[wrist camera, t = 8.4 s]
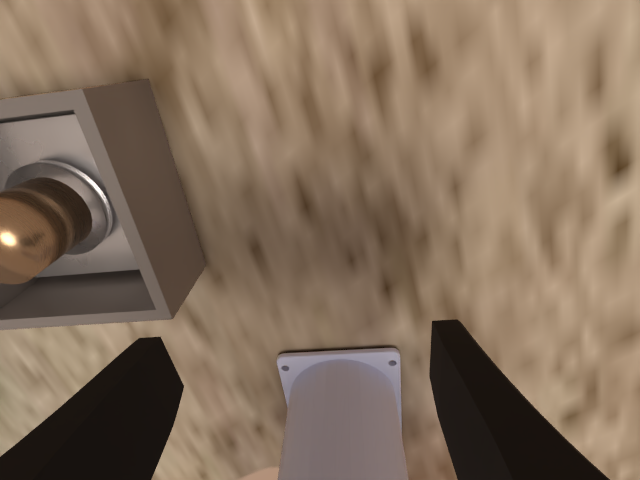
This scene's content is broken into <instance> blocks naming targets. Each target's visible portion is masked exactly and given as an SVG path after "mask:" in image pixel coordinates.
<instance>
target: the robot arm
mask: <svg viewBox="0 0 640 480" xmlns="http://www.w3.org/2000/svg"><path fill="white" fill-rule="evenodd" d="M391 360H394V361H392V362H391ZM277 366H278V370H279V374H280V378H281V382H282V387H283V391H284V395H285V399H286V403H287V407H288V412H287V418H286V425H285V432H284V439H283V446H282V453H281V460H280V467H279V474H278V480H409V478H408V472H407V466H406V459H405V453H404V447H403V441H402V419H401V372H400V353H399V351H398V350H397V349H396V348H377V349H358V350H338V351H319V352H300V353H283V354H280V355H279V356H278V357H277ZM286 366H287V367H286ZM430 381H431V386H432V391H433V395H434V400H435V405H436V410H437V414H438V418H439V421H440V425H441V428H442V431H443V434H444V437H445V440H446V444H447V447H448V450H449V453H450V456H451V459H452V463H453V466H454V469H455V472H456V475H457V478H458V480H610V479H608V478H607V477H606V476H605V475H604V474H603V473H602V472H601V471H600V470H598V469H597V468H596V467H595V466H594V465H593V464H592V463H591V462H590V461H589V460H587V459H586V458H585V457H584V456H583V455H582V454H581V453H580V452H579V451H578V450H577V449H576V448H575V447H574V446H573V445H572V444H571V443H569V442H568V441H567V440H566V439H565V438H564V437H563V436H562V435H561V434H560V433H559V432H558V431H557V430H556V429H555V428H554V427H553V426H552V425H551V424H550V423H549V422H548V421H547V420H546V419H545V418H544V417H543V416H542V415H541V414H540V413H539V412H538V411H537V410H536V409H535V408H534V406H533V405H532V404H531V403H530V402H529V401H528V400H527V399H526V398H525V397H524V396H523V395H522V394H521V393H520V392H519V390H518V389H517V388H516V387H515V386H514V385H513V384H512V383H511V382H510V381H509V380H508V378H507V377H506V376H505V375H504V374H503V373H502V372H501V371H500V369H499V368H498V367H497V366H496V365H495V364H494V363H493V361H492V360H491V359H490V358H489V357H488V355H487V354H486V353H485V352H484V351H483V350H482V348H481V347H480V346H479V345H478V343H477V342H476V341H475V340H474V338H473V337H472V336H471V335H470V333H469V332H468V331H467V330H466V328H465V327H464V326H463V324H462V323H461V322H460V321H458V320H441V321H432V335H431V355H430ZM183 388H184V385H183V383H182V381H181V379H180V377H179V375H178V373H177V371H176V369H175V367H174V364H173V362H172V360H171V358H170V356H169V354H168V352H167V350H166V348H165V345H164V343H163V341H162V339H161V337H150V338H139V339H138V340H136V341H135V342H134V343H133V344H132V345H130V346H129V347H128V348H127V349H126V350H124V351H123V352H122V353H121V354H120V355H119V356H118V357H116V358H115V359H114V360H113V361H112V362H111V363H110V364H109V365H107V366H106V367H105V368H104V369H103V370H102V371H101V372H100V373H99V374H97V375H96V376H95V377H94V378H93V379H92V380H91V381H90V382H88V383H87V384H86V385H85V386H84V387H83V388H82V389H80V390H79V391H78V392H77V393H76V394H75V395H74V396H73V397H71V398H70V399H69V400H68V401H67V402H66V403H65V404H63V405H62V406H61V407H60V408H59V409H58V410H57V411H55V412H54V413H53V414H52V415H51V416H49V417H48V418H47V419H46V420H45V421H43V422H42V423H41V424H40V425H39V426H37V427H36V428H35V429H34V430H33V431H31V432H30V433H29V434H28V435H27V436H25V437H24V438H23V439H22V440H21V441H19V442H18V443H17V444H16V445H15V446H13V447H12V448H11V449H10V450H8V451H7V452H6V453H5V454H3V455H2V456H1V457H0V480H151V479H152V476H153V474H154V471H155V469H156V467H157V464H158V462H159V459H160V457H161V455H162V452H163V450H164V447H165V445H166V442H167V440H168V437H169V435H170V432H171V430H172V427H173V425H174V421H175V418H176V414H177V411H178V408H179V404H180V400H181V396H182V392H183Z"/></svg>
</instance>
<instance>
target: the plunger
mask: <svg viewBox="0 0 640 480" xmlns="http://www.w3.org/2000/svg"><path fill="white" fill-rule="evenodd" d="M138 269H139V267H138V265H137V262H136V260H135V258H134V255H133V253H132V250H131V248H130V245H129V243H128V241H127V238H126V236H125V233H124V231H123V229H122V226H121V224H120V221H119V219H118V216H117V214H116V212H115V209H114V207H113V204H112V202H111V200H110V197H109V195H108V192H107V190H106V187H105V185H104V183H103V180H102V178H101V175H100V173H99V171H98V168H97V166H96V163H95V161H94V158H93V156H92V154H91V151H90V149H89V146H88V144H87V142H86V139H85V137H84V134H83V132H82V129H81V127H80V125H79V122H78V120H77V117H76V115H75V114H67V115H59V116H51V117H43V118H35V119H27V120H19V121H12V122H4V123H0V283H3V284H21V283H25V282H27V281H29V280H30V279H32V278H33V277H35V278H36V277H49V276H62V275H74V274H87V273H100V272H113V271H125V270H138Z"/></svg>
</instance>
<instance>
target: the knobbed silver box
mask: <svg viewBox="0 0 640 480" xmlns="http://www.w3.org/2000/svg"><path fill="white" fill-rule="evenodd" d="M67 114H75V115H76V117H77V120H78V122H79V125H80V127H81V129H82V132H83V134H84V137H85V139H86V142H87V144H88V146H89V149H90V151H91V154H92V156H93V158H94V161H95V163H96V166H97V168H98V171H99V173H100V175H101V178H102V180H103V183H104V185H105V187H106V190H107V192H108V195H109V197H110V200H111V202H112V204H113V207H114V209H115V212H116V214H117V216H118V219H119V221H120V224H121V226H122V229H123V231H124V233H125V236H126V238H127V241H128V243H129V245H130V248H131V250H132V253H133V255H134V258H135V260H136V262H137V265H138V267H139V269H138V270H125V271H113V272H100V273H87V274H74V275H62V276H49V277H36V278H35V277H33V278H32V279H30V280H29V281H27V282H25V283H21V284H3V283H0V330H8V329H25V328H41V327H57V326H73V325H89V324H105V323H121V322H137V321H153V320H169V319H173V318H174V316H175V315H176V313H177V311H178V310H179V308H180V307H181V305H182V303H183V302H184V300H185V299H186V297H187V295H188V294H189V292H190V291H191V289H192V287H193V286H194V284H195V282H196V281H197V279H198V278H199V276H200V274H201V273H202V271H203V270H204V268H205V266H206V262H205V259H204V256H203V253H202V249H201V246H200V243H199V240H198V237H197V233H196V230H195V227H194V224H193V220H192V217H191V214H190V211H189V208H188V204H187V201H186V198H185V195H184V192H183V188H182V185H181V182H180V179H179V176H178V172H177V169H176V166H175V163H174V159H173V156H172V153H171V150H170V147H169V143H168V140H167V137H166V134H165V131H164V127H163V124H162V121H161V118H160V115H159V111H158V108H157V105H156V102H155V98H154V95H153V92H152V89H151V86H150V82H149V79H145V80H137V81H130V82H122V83H115V84H107V85H100V86H92V87H85V88H77V89H70V90H62V91H55V92H47V93H40V94H32V95H25V96H17V97H9V98H2V99H0V123H4V122H12V121H19V120H27V119H35V118H43V117H51V116H59V115H67Z"/></svg>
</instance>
